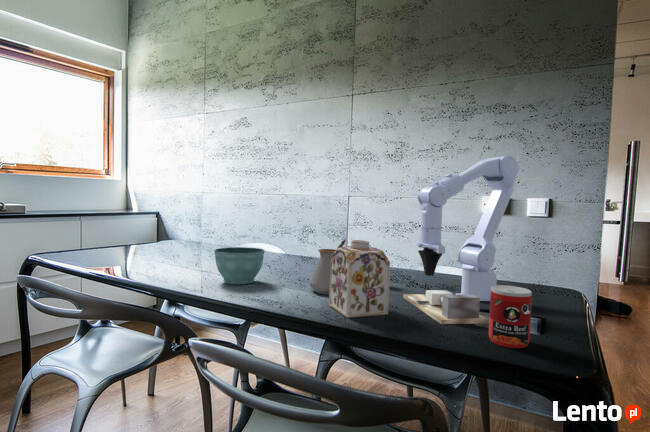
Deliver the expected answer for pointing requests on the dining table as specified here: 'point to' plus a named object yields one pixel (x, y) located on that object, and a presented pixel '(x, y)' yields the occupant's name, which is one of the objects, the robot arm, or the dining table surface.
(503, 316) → the canned food
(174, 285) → the dining table surface
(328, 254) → the coffee pot
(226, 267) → the flower pot
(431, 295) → the gauge carriage
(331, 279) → the decorative jar
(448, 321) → the bench
